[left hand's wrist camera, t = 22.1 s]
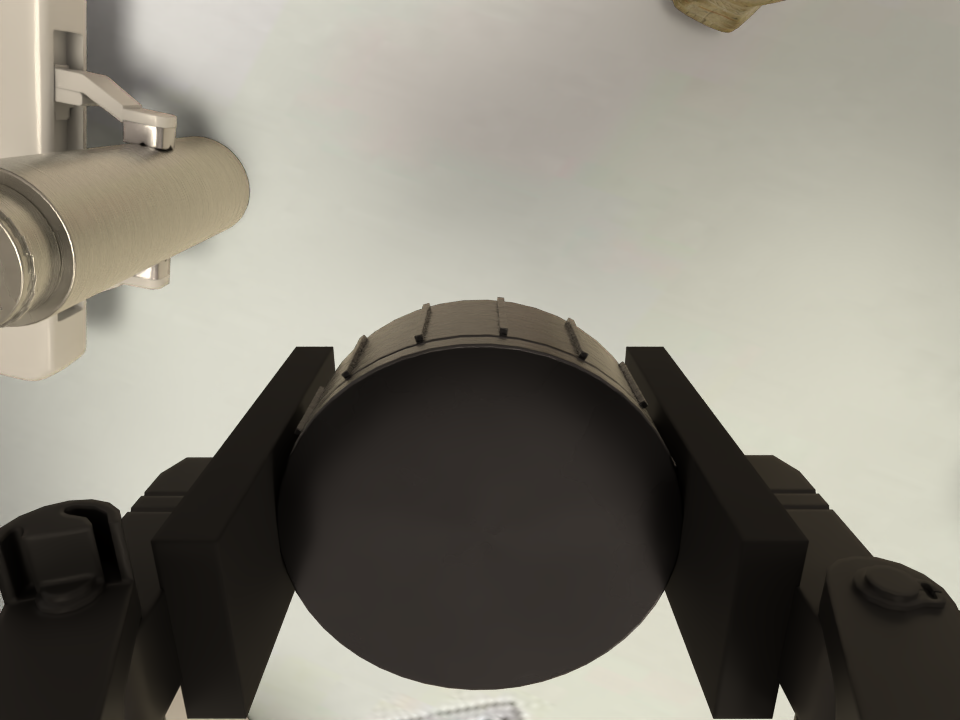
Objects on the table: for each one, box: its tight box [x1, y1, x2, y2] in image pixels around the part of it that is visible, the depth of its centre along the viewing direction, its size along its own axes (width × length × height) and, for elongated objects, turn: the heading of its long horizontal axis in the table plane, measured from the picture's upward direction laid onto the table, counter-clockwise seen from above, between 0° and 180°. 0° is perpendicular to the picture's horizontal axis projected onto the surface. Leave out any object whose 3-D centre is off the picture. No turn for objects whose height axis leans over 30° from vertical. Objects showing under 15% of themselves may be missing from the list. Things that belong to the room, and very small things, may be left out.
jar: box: [0, 136, 249, 328], centre depth 29 cm, size 5×5×20 cm
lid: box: [276, 297, 684, 690], centre depth 11 cm, size 6×6×2 cm
